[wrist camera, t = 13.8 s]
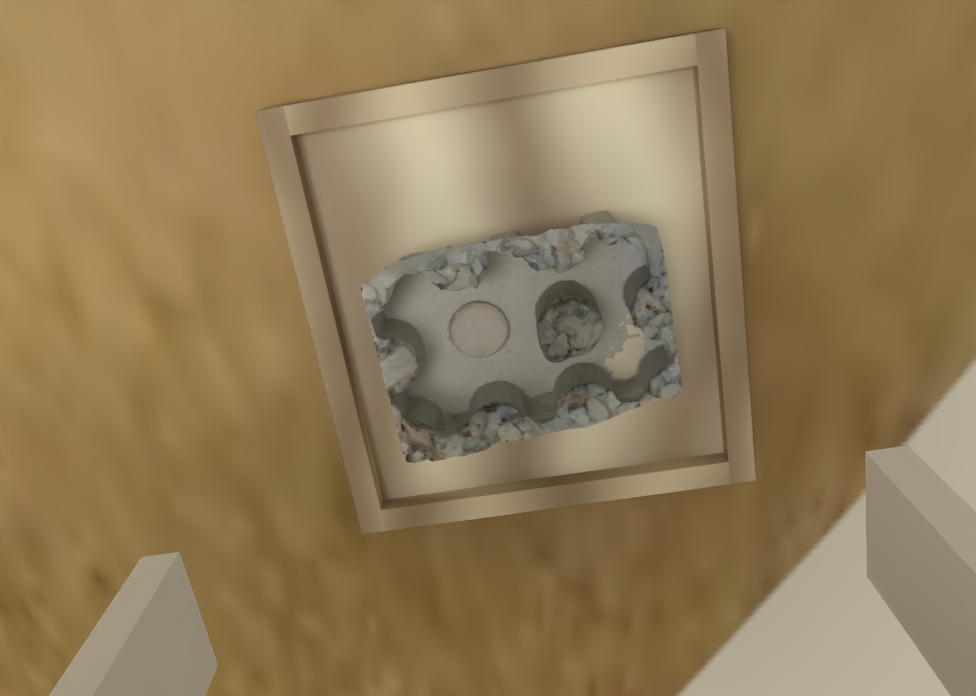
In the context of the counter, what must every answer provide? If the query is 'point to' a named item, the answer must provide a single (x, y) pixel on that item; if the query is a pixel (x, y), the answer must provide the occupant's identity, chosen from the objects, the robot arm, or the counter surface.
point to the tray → (530, 212)
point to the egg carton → (521, 335)
